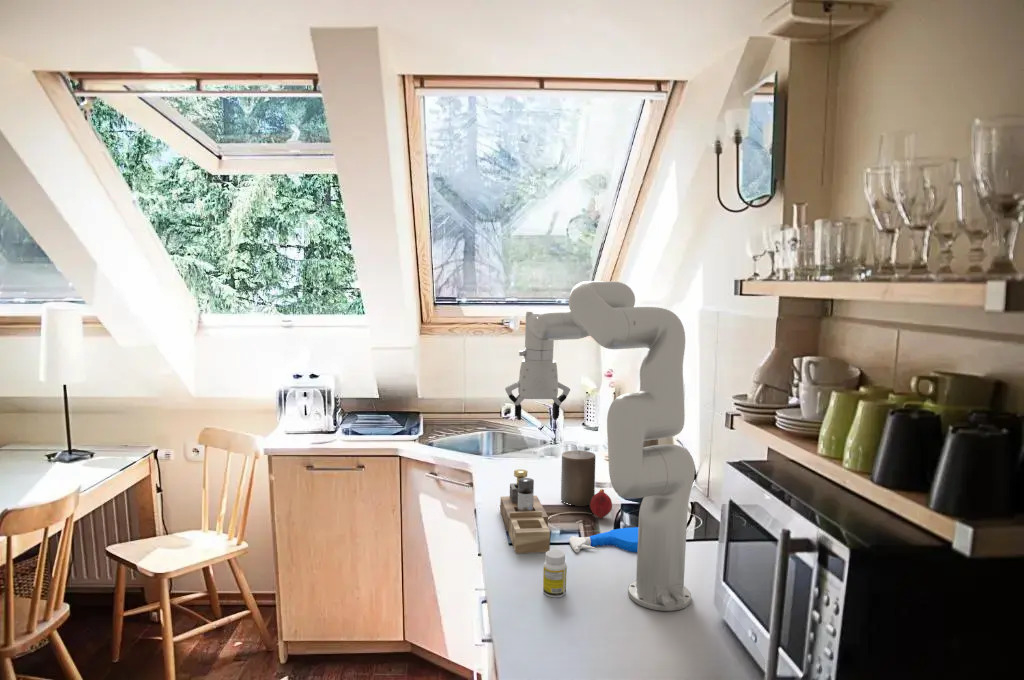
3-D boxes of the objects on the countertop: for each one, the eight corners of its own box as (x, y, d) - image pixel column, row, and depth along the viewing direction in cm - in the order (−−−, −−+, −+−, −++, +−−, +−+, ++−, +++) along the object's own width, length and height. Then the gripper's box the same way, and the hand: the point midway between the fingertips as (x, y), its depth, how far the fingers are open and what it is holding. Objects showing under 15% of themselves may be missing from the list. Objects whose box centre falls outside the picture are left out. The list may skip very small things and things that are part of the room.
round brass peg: (528, 488, 184) (528, 473, 184) (514, 488, 184) (515, 473, 183) (525, 484, 188) (526, 469, 187) (512, 484, 187) (513, 469, 187)
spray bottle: (660, 524, 174) (565, 529, 171) (676, 541, 164) (576, 547, 160) (660, 535, 175) (565, 540, 171) (676, 553, 164) (575, 559, 160)
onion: (610, 523, 181) (611, 493, 180) (588, 521, 182) (589, 491, 181) (612, 515, 187) (613, 486, 186) (590, 513, 188) (591, 485, 187)
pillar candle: (601, 504, 196) (602, 452, 194) (571, 508, 191) (573, 455, 190) (582, 494, 204) (583, 444, 203) (553, 498, 200) (555, 447, 198)
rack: (549, 551, 162) (550, 527, 161) (515, 553, 161) (516, 528, 160) (540, 533, 173) (541, 510, 172) (509, 535, 172) (509, 511, 171)
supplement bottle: (552, 585, 145) (553, 546, 144) (570, 592, 142) (571, 553, 141) (538, 593, 142) (539, 553, 141) (556, 600, 139) (558, 560, 138)
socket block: (547, 532, 174) (548, 502, 173) (508, 533, 173) (509, 504, 172) (536, 509, 190) (537, 482, 189) (500, 510, 188) (500, 483, 188)
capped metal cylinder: (533, 528, 177) (535, 482, 175) (518, 528, 176) (519, 482, 175) (531, 522, 181) (532, 477, 179) (516, 522, 180) (517, 478, 179)
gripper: (507, 357, 177) (506, 422, 179) (574, 357, 179) (571, 422, 181) (504, 353, 184) (503, 415, 187) (568, 353, 187) (565, 415, 189)
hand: (536, 418), depth 184 cm, fingers open, 9 cm apart
